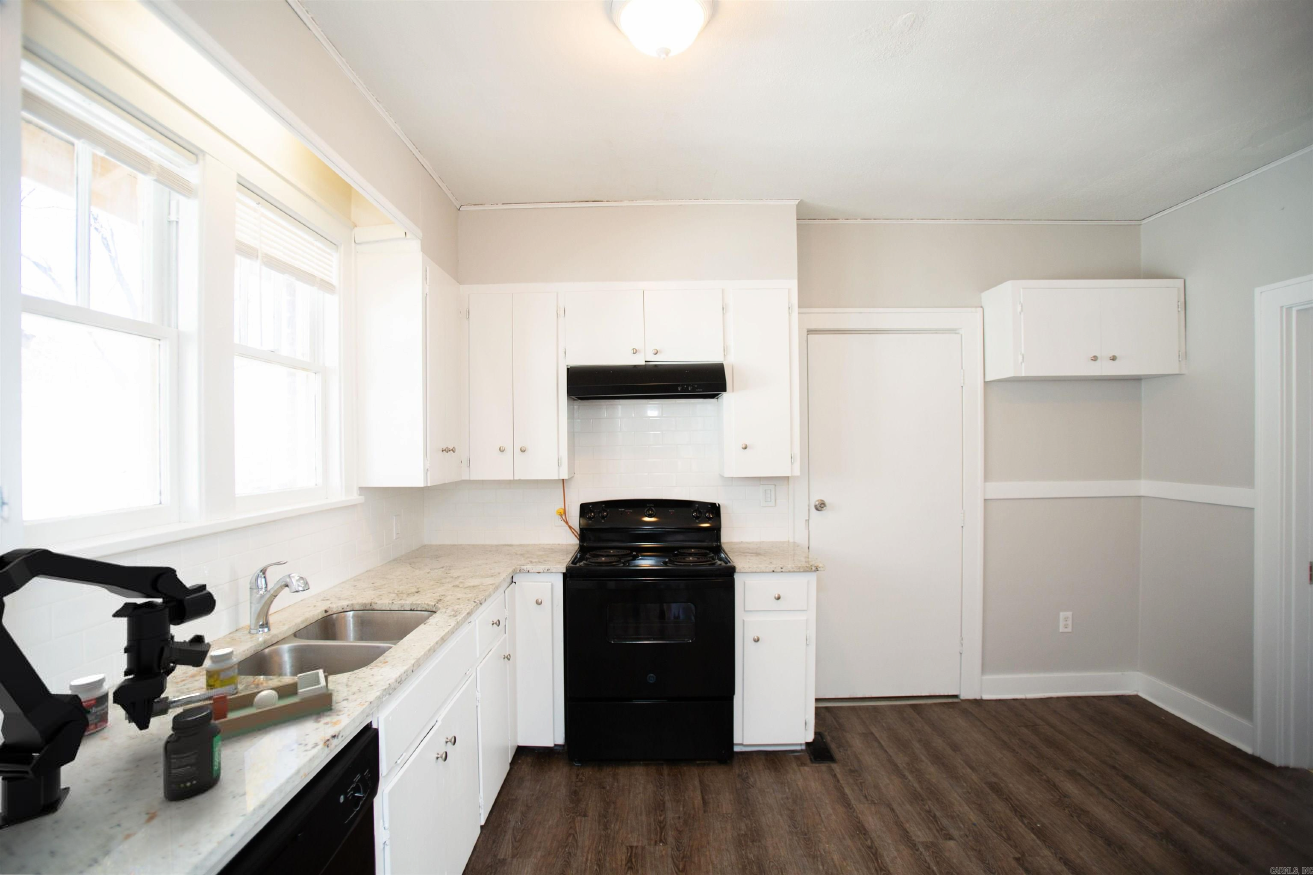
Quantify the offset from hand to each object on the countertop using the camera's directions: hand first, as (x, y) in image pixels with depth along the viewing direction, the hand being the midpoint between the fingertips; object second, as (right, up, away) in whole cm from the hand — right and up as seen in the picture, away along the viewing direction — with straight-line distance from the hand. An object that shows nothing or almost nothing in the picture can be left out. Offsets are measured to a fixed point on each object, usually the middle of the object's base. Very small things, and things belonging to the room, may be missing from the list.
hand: (149, 719), depth 93 cm
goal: (+20, -4, +15) cm, 25 cm away
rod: (+4, -3, +3) cm, 6 cm away
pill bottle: (-18, -6, +6) cm, 20 cm away
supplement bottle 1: (+19, -4, -12) cm, 23 cm away
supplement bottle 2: (-4, -6, +20) cm, 21 cm away
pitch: (+13, -5, +10) cm, 17 cm away
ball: (+14, -2, +10) cm, 17 cm away
